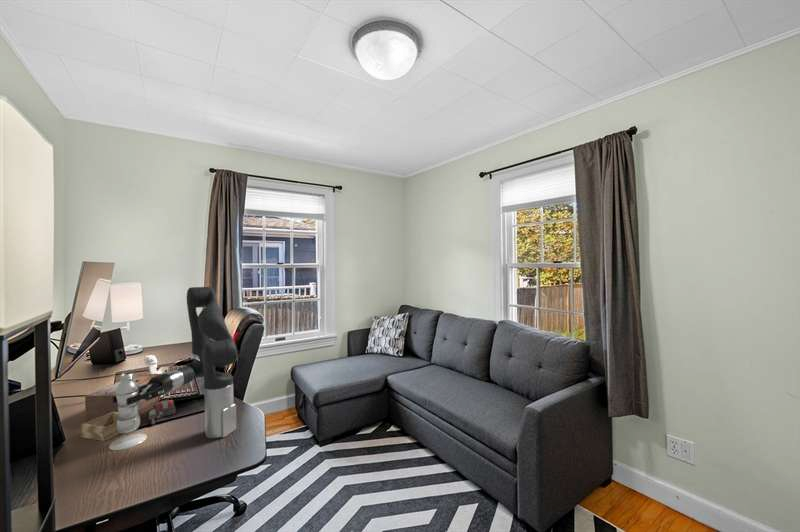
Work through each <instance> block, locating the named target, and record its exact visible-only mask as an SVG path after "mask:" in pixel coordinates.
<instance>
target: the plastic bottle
mask: <svg viewBox="0 0 800 532" xmlns="http://www.w3.org/2000/svg"><path fill="white" fill-rule="evenodd" d="M133 378H134V372H133V371H128V372H123V373H121V374H120V375H119V381H121V383H120V384H119V385H118V387H117V388H116V391H115V392H116V397H117V402H118V420H117V425H116V428H117V431H118V432H119V433H121V434H127V433H130V432H134V431H135V430H137V429H139V427H140V425H141V417H140V414H139V410H138V401H137V402H135V403H133V404H130V405H127V402H126V400H127V398H129V397H132V396H134V395H137V394H138V393H139V385H138V383H137V382H136V381H135V380H133Z"/></svg>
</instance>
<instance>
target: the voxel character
mask: <svg viewBox="0 0 800 532" xmlns="http://www.w3.org/2000/svg"><path fill="white" fill-rule="evenodd" d="M144 364H145V365H147V367H148V371H149V372H147V373H145V374H163V372H162V369H161V370H157V368H158V360H157V357H156V356H155V355H154V354H153V355H152V354H149V355H146V356H145V358H144Z"/></svg>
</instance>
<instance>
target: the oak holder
mask: <svg viewBox="0 0 800 532" xmlns="http://www.w3.org/2000/svg"><path fill="white" fill-rule="evenodd" d="M117 420H118V412H111V413H108V414H106V415H103V416H101V417H98V418H96V419H93V420H87V421H86V422H84V423H81V424H80V437H81V438H85V439H92V440H97V441H103V442H106V441H108V440H110V439H112V438H114V437H117V436H119V435H121V434H122V433H119V432H118V431H117V428H116V425H117ZM108 425H109V426H108Z"/></svg>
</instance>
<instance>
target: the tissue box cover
mask: <svg viewBox="0 0 800 532" xmlns="http://www.w3.org/2000/svg"><path fill="white" fill-rule="evenodd" d="M158 375H161V374H146V373H137V374H135V375H134V378H133V380H135V381H136V382H137V383H138V385H139V386H141V385H143V384H147V383H148V382H149V380H150V379H151V378H153V377H155V376H158ZM120 383H121V381H120V380H119V381H117V382H115V383H113V384H110V385H108V386H106V387H102V388H101V389H98V390H95V391H94V392H91V393H88V394H86V395H85V396H84V397H85V398H84V402H85V403H84V408H85V409H84V410H85V421H91V420H93V419H96V418H98V417H101V416H103V415H106V414H108V413H111V412H118V402H116V403H113V402H112V397H113V396H115V395H116V392H115V391H116V388H117V387H118V385H119V384H120ZM150 397H151V396H150ZM158 398H159V396H158V397H156V398H153V399H150V400H148V401H145V399H144V400H143V401H140V400H139V401H138V411H140V410H142V409H143V408H145V407H147V406H149V405H150V404H152V403H154V402H156V401H158V400H159V399H158ZM155 400H156V401H155Z"/></svg>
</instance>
